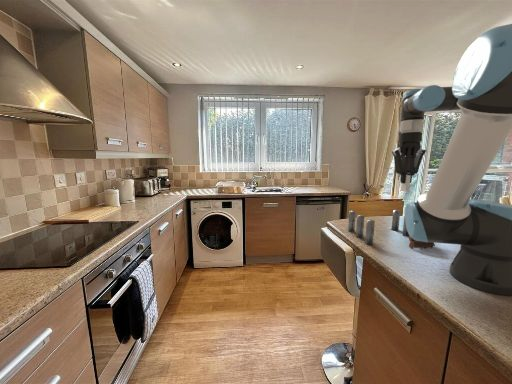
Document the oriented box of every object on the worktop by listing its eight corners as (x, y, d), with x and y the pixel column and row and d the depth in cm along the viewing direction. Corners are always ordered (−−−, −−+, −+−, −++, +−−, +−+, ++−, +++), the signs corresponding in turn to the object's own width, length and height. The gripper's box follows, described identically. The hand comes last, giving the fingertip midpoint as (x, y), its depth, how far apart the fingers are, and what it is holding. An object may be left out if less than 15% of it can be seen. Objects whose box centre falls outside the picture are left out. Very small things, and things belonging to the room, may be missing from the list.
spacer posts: (426, 243, 92) (428, 220, 90) (367, 245, 91) (369, 221, 89) (395, 228, 110) (397, 209, 109) (346, 230, 110) (347, 210, 108)
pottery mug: (442, 251, 86) (442, 236, 82) (422, 262, 85) (421, 248, 81) (414, 233, 96) (413, 220, 92) (396, 244, 96) (394, 230, 92)
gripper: (418, 133, 91) (412, 189, 95) (388, 133, 90) (383, 190, 94) (434, 131, 84) (427, 192, 88) (401, 131, 83) (396, 193, 87)
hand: (404, 191), depth 91 cm, fingers closed
